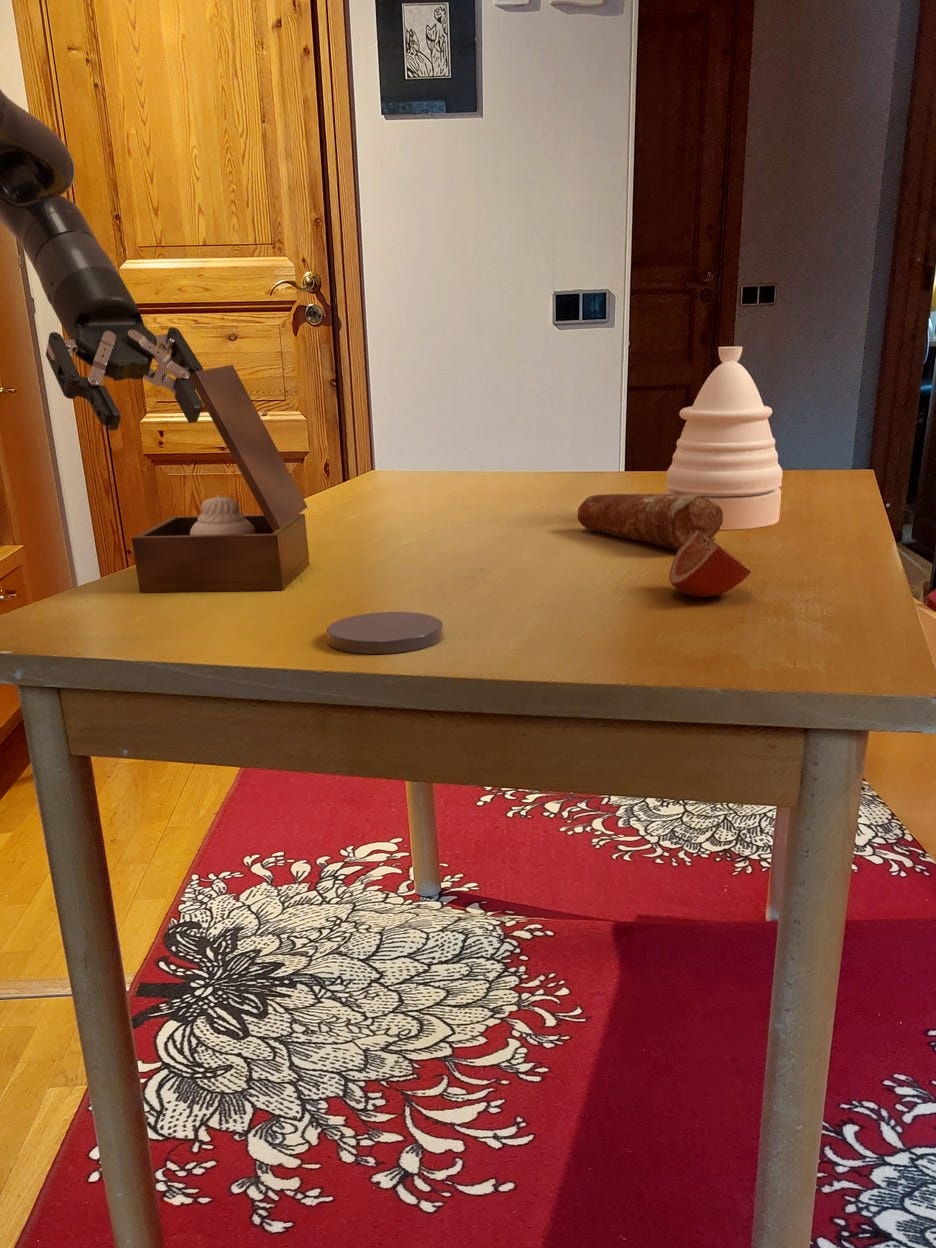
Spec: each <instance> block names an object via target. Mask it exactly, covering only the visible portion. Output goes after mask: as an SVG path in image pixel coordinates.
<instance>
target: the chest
mask: <svg viewBox="0 0 936 1248" xmlns="http://www.w3.org/2000/svg"><path fill="white" fill-rule="evenodd" d="M243 515H244V518H245V519H247V520H248V521H249V522H250V523H251V524H252V525H253V526H254V528H255V534H235V535H190V530H191V528H192V526H193V525H194V524H195V523H196V522H198V517H199V516H200V515H175V516H170V517H168V518H166V519H164V520H162V521H161V522H159V523H156V524H155V525H154V526H151V527H150V528H148V529H146V530H144V531H142V532H140V533H138V534H136V535H135V536H133V537H131V545H132V551H133V557H134V565H135V571H136V577H137V582H138V589H139V593H197V592H198V593H200V592H202V593H204V592H205V593H206V592H260V591H259V590H262V591H261V592H263V591H265V590H267V592H268V591H270V592H271V591H284V590H285V589H286V588H287V587H288V586H289V585H290V584H291V583H292V582H293V581H294V580H295V579H296V578H297V577H298V576H299V575H300V574H301V573H303V572H304V571H305V570H306V569H307V567H309V565H310V564H311V563H310V557H309V556H310V552H309V543H308V533H307V522H306V514H305V513H300V514H298V515H297V516H296V517H294V518H293V519H292V520H290V521H289V522H288V523H286V524H285V525H284V526H283V527H281V528H280V529H278V530H276V531H274V532H273V531H272V529H271V527H270V525H269V523H268V521H267V519H266V518H265V516H264V514H243ZM265 592H266V591H265Z"/></svg>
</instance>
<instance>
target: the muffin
mask: <svg viewBox="0 0 936 1248" xmlns="http://www.w3.org/2000/svg"><path fill="white" fill-rule="evenodd" d="M199 508H200V514H199V515H198V516H199V517H198V522H196V523H195V524H194V525H193V526H192V528H191V530H190V535H235V534H255V528H254V526H253V525H252V524H251V523H250V522H249V521H248V520H247V519H245V518H244V515H245V514H243V512H241V511H240V506H239V504H238V502H237V501H236V500H235V499H233V498H230V497H227V496H220V494H217V495H216V496H215V497H210V498H208V499H206V500H204V501H203V502H202V504H201V505H200V507H199Z"/></svg>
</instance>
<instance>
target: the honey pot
mask: <svg viewBox="0 0 936 1248" xmlns="http://www.w3.org/2000/svg"><path fill="white" fill-rule="evenodd" d="M717 348H718V349H717V351H718V357H719V359H720V362H721V363H720V364H719V365H718V366H716V367H715V369H713V370H712V372H711V373H710V374H709V375H708V377H707V378H706V380H705V381H704V383H703V385H702V386H701V388H700V390H699V392H698V393H697V395H696V398H695V399H694V402H693V404H692V406H687V407H683V408H682V409H681V410H680V411H679V412H678V413H679V415H678V416H679V417H680V418H681V419H682V420H686V421H685V422H684V423H685V424H684V426H683V428H682V431H681V434H680V437H679V438H678V439H677V440H676V443H675V444H676V449H675V451H674V452H673V455H672V461H671V465H670V466H669V467H668V469H667V470H666V473H665V479H666V482H665V486H666V490H665V493H664V494H691V495H703V496H705V497H706V498H708V499H709V500H710V501H712V502H713V503H715V504H717V505H718V506H720V508H721V509H722V512H723V522H722V525H721V527H720V529H719V530H720V531H724V530H725V531H731V530H748V529H759V528H765V527H769V526H772V525H776V524H777V523H778V522H780V514H781V500H782V489H781V487H782V485H783V481H782V478H783V468H782V467H781V465H780V464H779V454H778V451H777V450H776V438H775V437H773V433H772V430H771V425H770V422H769V418H770V417H771V416H772V414H773V408H771V407H769V406H767V405H764V403H763V399H762V397H761V395H760V392H759V389H758V388H757V386H756V383H755V381H754V380H753V378H752V376H751V374H750V373H749V372H748V371H747V369H746V368H745V367H744V366H743V365H742V364H741V363H739V360H740V358H741V356H742V352H743V346H719V347H717Z"/></svg>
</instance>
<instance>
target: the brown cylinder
mask: <svg viewBox="0 0 936 1248" xmlns="http://www.w3.org/2000/svg"><path fill="white" fill-rule="evenodd" d="M576 518H577V521H578V522H579V524H580V525H581V526H582V527H583V528H585V529H587V530H591V531H596V532H601V533H603V534H607V535H609V536H610V535H611V536H614V537H618V538H621V539H627V540H629V539H630V540H634V541H637V542H642V543H647V544H651V545H656V546H660V547H663V548H667V549H671V550H677V551H678V550H679V549H680V547H682V546H683V545H684V543H685V542H686V541H687V540H689V538H690V537H691V536H692V535H693V534H694V533H695V532H696V531H697V530H699V531H700V532H702V534H704V535H705V536H707V538H708V539H709V540H710V539H713V538H715V535H717V533H718V532H719V529H720V527H721V525H722V522H723V512H722V509H721V508H720V506H718V505H717V504H715V503H713V502H712V501H710V500H709V499H708V498H706V497H705V496H703V495H691V494H665V493H612V494H611V493H610V494H594V495H590V496H588V497H586V498H585V500H583V502H581V504H580V505H579V507H578V509H577V516H576Z"/></svg>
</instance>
